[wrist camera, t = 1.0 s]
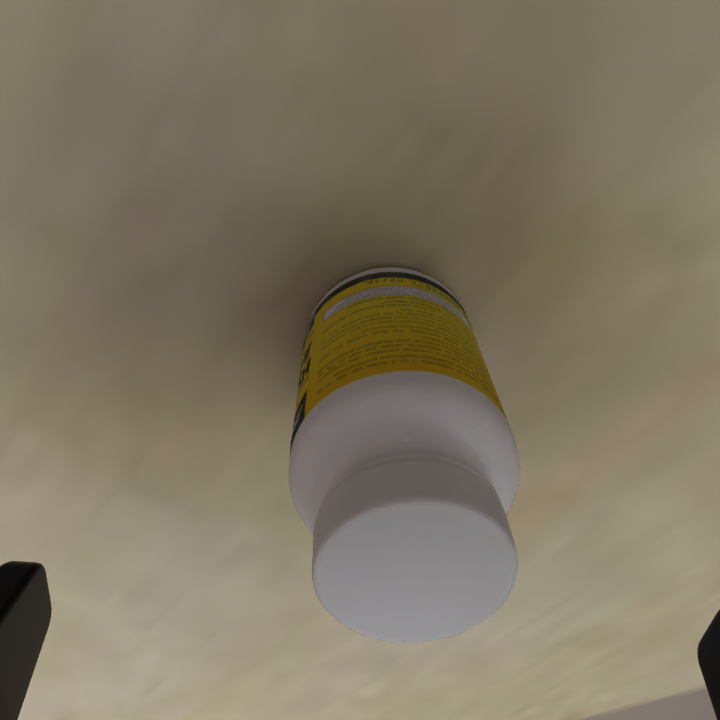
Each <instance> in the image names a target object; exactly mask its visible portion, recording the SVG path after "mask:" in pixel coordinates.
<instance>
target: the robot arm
mask: <svg viewBox="0 0 720 720" xmlns="http://www.w3.org/2000/svg"><path fill="white" fill-rule="evenodd" d="M51 609H52V608H51V600H50V595H49V589H48V583H47V577H46V572H45V568H44V567H43V565H42V564H40V563H36V562H20V561H10V562H7V563H5V564H3V565H1V566H0V720H17V719H18V716H19V713H20V710H21V707H22V704H23V701H24V699H25V696H26V693H27V690H28V687H29V684H30V681H31V678H32V675H33V672H34V669H35V666H36V663H37V660H38V657H39V654H40V651H41V648H42V645H43V642H44V639H45V636H46V633H47V630H48V627H49V623H50V619H51ZM698 661H699V665H700V668H701V671H702V674H703V677H704V680H705V684H706V687H707V690H708V693H709V696H710V699H711V702H712V705H713V708H714V711H715V715H716V717H717V720H720V610H719V611H718V612H717V614H716V615H715V617H714V619H713V620H712V622H711V624H710V625H709V627H708V629H707V630H706V632H705V634H704V635H703V637H702V639H701V640H700V642H699V645H698Z"/></svg>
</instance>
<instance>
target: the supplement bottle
mask: <svg viewBox="0 0 720 720" xmlns="http://www.w3.org/2000/svg"><path fill="white" fill-rule="evenodd" d="M518 481H519V457H518V452H517V448H516V444H515V441H514V438H513V435H512V432H511V429H510V427H509V424H508V421H507V419H506V416H505V414H504V411H503V408H502V406H501V403H500V401H499V398H498V396H497V393H496V390H495V388H494V385H493V383H492V380H491V377H490V375H489V372H488V369H487V367H486V364H485V361H484V359H483V356H482V354H481V351H480V349H479V346H478V343H477V341H476V338H475V335H474V333H473V330H472V328H471V325H470V322H469V320H468V318H467V315H466V313H465V311H464V309H463V307H462V306H461V304H460V302H459V301H458V300H457V298H456V297H455V296H454V295H453V294H452V292H451V291H450V290H449V289H447V288H446V287H445V286H444V285H443V284H442V283H440V282H439V281H437V280H436V279H434V278H432V277H430V276H428V275H426V274H423V273H421V272H418V271H415V270H411V269H406V268H397V267H384V268H375V269H370V270H366V271H363V272H361V273H358V274H355V275H353V276H351V277H349V278H347V279H345V280H343V281H342V282H340V283H338V284H337V285H336V286H335V287H333V288H332V289H331V290H330V291H329V292H328V293H327V294H326V295H325V296H324V297H323V298H322V299H321V300H320V302H319V303H318V305H317V306H316V308H315V309H314V311H313V313H312V315H311V318H310V320H309V323H308V327H307V330H306V335H305V340H304V346H303V354H302V363H301V371H300V378H299V387H298V396H297V403H296V411H295V419H294V426H293V435H292V440H291V447H290V464H289V483H290V490H291V494H292V498H293V501H294V504H295V506H296V509H297V511H298V513H299V515H300V517H301V519H302V520H303V522H304V523H305V524H306V526H307V527H308V528H309V529H310V531H311V532H312V533H313V560H312V580H313V584H314V588H315V591H316V594H317V596H318V598H319V600H320V602H321V604H322V605H323V607H324V608H325V609H326V610H327V611H328V613H329V614H330V615H332V616H333V617H334V618H335V619H336V620H337V621H338V622H340V623H341V624H343V625H344V626H346V627H347V628H349V629H351V630H353V631H355V632H358V633H360V634H362V635H365V636H368V637H372V638H375V639H379V640H383V641H391V642H402V643H412V642H426V641H433V640H438V639H442V638H446V637H449V636H453V635H456V634H458V633H461V632H463V631H466V630H468V629H470V628H472V627H474V626H476V625H478V624H479V623H481V622H482V621H484V620H485V619H487V618H488V617H489V616H490V615H491V614H493V613H494V612H495V611H496V610H497V609H498V608H499V607H500V606H501V605H502V604H503V602H504V601H505V599H506V598H507V597H508V595H509V594H510V592H511V590H512V588H513V585H514V582H515V579H516V574H517V567H518V563H517V553H516V548H515V544H514V541H513V537H512V534H511V530H510V527H509V524H508V520H507V517H506V514H507V512H508V511H509V509H510V507H511V505H512V502H513V500H514V497H515V494H516V490H517V486H518Z"/></svg>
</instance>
